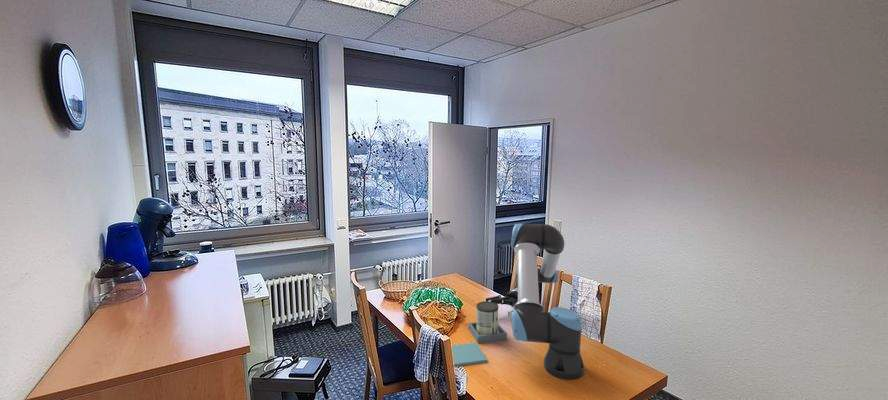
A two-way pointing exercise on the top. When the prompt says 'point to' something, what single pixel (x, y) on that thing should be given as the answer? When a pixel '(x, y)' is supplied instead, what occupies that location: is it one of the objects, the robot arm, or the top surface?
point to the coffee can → (487, 318)
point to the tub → (487, 338)
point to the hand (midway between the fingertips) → (495, 310)
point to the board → (467, 354)
